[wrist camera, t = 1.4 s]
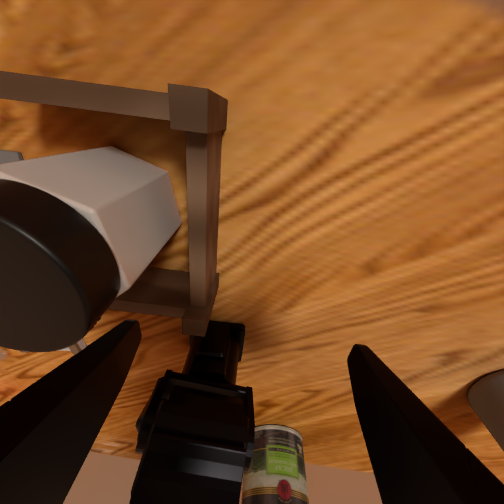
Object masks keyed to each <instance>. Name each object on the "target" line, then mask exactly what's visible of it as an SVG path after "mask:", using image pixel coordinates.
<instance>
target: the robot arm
mask: <svg viewBox="0 0 504 504" xmlns="http://www.w3.org/2000/svg"><path fill="white" fill-rule="evenodd" d="M244 336H245V326H244V325H242V324H235V323H226V322H217V321H209V323H208V326H207V330H206V334H205V337H202V336H194V335H190V350H189V353H188V356H187V359H186V362H185V365H184V368H183V371H182V373H177V372H172V370H168V369H167V371H166V373H165V375H164V377H162V378H159V379H158V381H157V383H156V386H155V388H154V391H153V393H152V395H151V397H150V399H149V401H148V402H147V404H146V406H145V407H144V409H143V411H142V413H141V414H140V416H139V418H138V420H137V423H136V429H137V431H138V438H137V441H138V442H137V446H136V453H139V454H143V455H142V458H141V461H140V464H139V467H138V471H137V474H136V477H135V480H134V483H133V486H132V490H131V499H130V504H239V498H240V491H241V484H242V478H243V472H246V471H248V469H249V466H250V463H251V459H252V454H253V448H254V439H255V421H254V407H253V392H252V387H248V386H247V387H243V386H239V385H236V376H237V366H238V362H239V361H241V357H242V350H243V343H244ZM140 341H141V330H140V325H139V322H138V321H137V320H130V319H127V320H125V321H123V322H122V323H120V324H119V325H117V326H116V327H114V328H113V329H112V330H110V331H109V332H107V333H106V334H104V335H103V336H101V337H100V338H99V339H97V340H96V341H94V342H93V343H91V344H90V345H88V346H87V347H86V348H84V349H83V350H81V351H80V352H78V353H77V354H75V355H74V356H72V357H71V358H70V359H68V360H67V361H65V362H64V363H62V364H61V365H59V366H58V367H57V368H55V369H54V370H52V371H51V372H49V373H48V374H46V375H45V376H44V377H42V378H41V379H39V380H38V381H36V382H35V383H33V384H32V385H31V386H29V387H28V388H26V389H25V390H23V391H22V392H20V393H19V394H17V395H16V396H15V397H13V398H12V399H11V400H10V401H7V402H6V403H4V404H3V405H1V406H0V504H63V502H64V500H65V498H66V496H67V494H68V492H69V490H70V488H71V486H72V484H73V482H74V480H75V478H76V476H77V474H78V473H79V471H80V469H81V467H82V465H83V463H84V461H85V459H86V457H87V455H88V453H89V451H90V449H91V447H92V445H93V443H94V441H95V439H96V437H97V435H98V433H99V431H100V429H101V427H102V425H103V423H104V422H105V420H106V418H107V416H108V414H109V412H110V410H111V408H112V406H113V404H114V402H115V400H116V398H117V396H118V394H119V392H120V390H121V388H122V386H123V384H124V382H125V379H126V377H127V375H128V372H129V369H130V367H131V364H132V362H133V359H134V357H135V354H136V351H137V349H138V346H139V344H140ZM347 363H348V369H349V375H350V380H351V386H352V392H353V397H354V402H355V407H356V411H357V415H358V418H359V422H360V425H361V429H362V432H363V436H364V439H365V443H366V446H367V450H368V454H369V457H370V461H371V464H372V468H373V471H374V475H375V478H376V482H377V485H378V489H379V492H380V496H381V500H382V503H383V504H504V484H503V483H502V482H501V481H500V480H499V479H498V478H497V477H496V476H495V475H494V474H493V473H492V472H491V471H490V470H489V469H488V468H487V467H486V466H485V465H484V464H483V463H482V462H481V461H480V460H479V459H478V458H477V457H476V456H475V455H474V454H473V453H472V452H471V451H470V450H469V449H467V448H466V447H465V445H464V444H463V443H462V442H461V441H460V440H459V439H458V438H457V437H456V436H455V435H454V434H453V433H452V432H451V431H450V430H449V429H448V428H447V427H446V426H445V425H444V424H443V423H442V422H441V421H440V420H439V419H438V418H437V417H436V416H435V415H434V414H433V413H432V412H431V411H430V409H429V408H428V407H427V406H426V405H425V404H424V403H423V402H422V401H421V400H420V399H419V398H418V397H417V396H416V395H415V394H414V393H413V392H412V391H411V390H410V389H409V388H408V387H407V386H406V385H405V384H404V383H403V382H402V381H401V380H400V379H399V378H398V377H397V376H396V375H395V374H394V373H393V372H392V371H391V370H390V369H389V368H388V367H387V366H386V365H385V364H384V363H383V362H382V361H381V360H380V359H379V358H378V357H377V355H376V354H375V353H374V352H373V351H372V350H371V349H370V348H369V347H367V346H366V345H361V344H355V345H354V346H353V348H352V350H351V352H350V354H349V356H348V359H347Z"/></svg>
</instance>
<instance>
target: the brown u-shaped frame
mask: <svg viewBox="0 0 504 504" xmlns="http://www.w3.org/2000/svg"><path fill="white" fill-rule="evenodd" d="M0 98H2V99H10V100H17V101H25V102H33V103H40V104H48V105H56V106H63V107H71V108H78V109H86V110H94V111H101V112H109V113H117V114H124V115H132V116H139V117H147V118H155V119H162V120H170V129H175V130H183V131H185V139H186V171H187V204H188V236H189V269H190V272H184V271H176V270H168V269H159V268H151V267H147V268H146V269H145V270H144V271H143V273H142V274H141V275H140V276H139V278H138V279H137V280H136V281H135V283H134V284H133V285H132V286H131V288H130V289H128V290H127V291H125V292H124V293H122V294H121V295H119V296H118V297H116V298H115V300H114V301H113V303H112V304H111V305H110V306H109V308H108V309H109V310H118V311H126V312H135V313H143V314H152V315H161V316H169V317H178V318H182V332H183V334H185V335H194V336H202V337H205V334H206V330H207V326H208V323H209V319H210V316H211V312H212V308H213V305H214V301H215V297H216V294H217V290H218V285H219V273H216V264H217V240H218V216H219V192H220V168H221V144H222V130H226V123H227V103H228V100H227V99H225V98H223V97H221V96H220V95H218V94H216V93H214V92H213V91H211V90H209V89H206V88H198V87H191V86H183V85H176V84H169V83H168V93H162V92H155V91H147V90H140V89H132V88H125V87H117V86H110V85H102V84H95V83H87V82H80V81H72V80H65V79H57V78H50V77H42V76H35V75H27V74H19V73H12V72H4V71H0Z"/></svg>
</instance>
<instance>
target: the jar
mask: <svg viewBox="0 0 504 504" xmlns="http://www.w3.org/2000/svg"><path fill="white" fill-rule="evenodd" d="M181 224H182V221H181V218H180V214H179V210H178V207H177V203H176V199H175V196H174V192H173V188H172V185H171V181H170V177H169V174H168V172H167V171H166V170H164V169H162V168H160V167H157V166H155V165H153V164H151V163H148V162H146V161H144V160H142V159H139V158H137V157H135V156H133V155H130V154H128V153H126V152H124V151H122V150H119V149H117V148H115V147H113V146H107V147H101V148H95V149H89V150H83V151H77V152H70V153H64V154H58V155H52V156H46V157H40V158H34V159H28V160H22V161H15V162H9V163H3V164H0V346H1V347H5V348H9V349H14V350H20V351H28V352H51V351H57V350H61V349H64V348H67V347H70V346H72V345H74V344H76V343H77V342H79V341H80V340H81V339H82V338H83V337H84V336H85V335H86V334H87V333H88V332H89V331H90V330H91V329H92V328H93V327H94V325H96V323H97V321H99V320H100V319H101V316H102V315H103V314H104V312H105V311H106V310H107V309H108V308H109V306H110V305H111V304H112V303H113V301H114V300H115V298H116V297H118V296H119V295H121V294H122V293H124V292H125V291H127V290H128V289H130V288H131V286H132V285H133V284H134V283H135V281H136V280H137V279H138V278H139V276H140V275H141V274H142V273H143V271H144V270H145V269H146V268H147V266H148V265H149V264H150V263H151V261H152V260H153V259H154V258H155V256H156V255H157V254H158V253H159V251H160V250H161V249H162V248H163V246H164V245H165V244H166V243H167V241H168V240H169V239H170V238H171V236H172V235H173V234H174V233H175V231H176V230H177V229H178V228H179V226H180V225H181Z"/></svg>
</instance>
